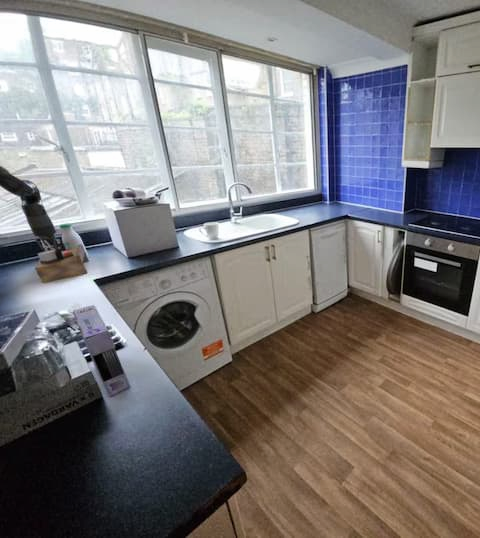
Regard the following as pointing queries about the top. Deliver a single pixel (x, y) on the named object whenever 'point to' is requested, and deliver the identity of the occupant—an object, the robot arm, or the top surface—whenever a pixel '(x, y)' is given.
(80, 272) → the tan box with lid
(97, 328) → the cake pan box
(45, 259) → the white bottle red cap
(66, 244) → the milk bottle
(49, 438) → the top surface
